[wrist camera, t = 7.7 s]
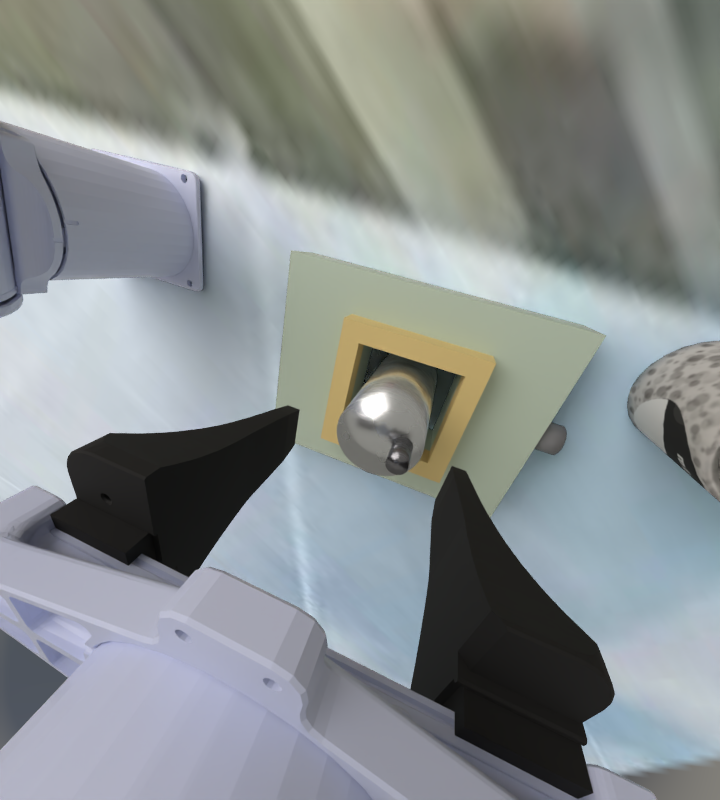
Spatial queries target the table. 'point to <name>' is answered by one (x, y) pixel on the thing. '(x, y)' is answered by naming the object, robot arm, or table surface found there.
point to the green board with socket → (436, 346)
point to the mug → (683, 410)
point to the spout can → (389, 417)
